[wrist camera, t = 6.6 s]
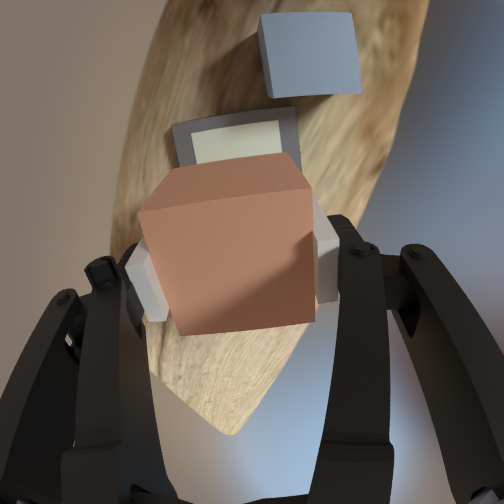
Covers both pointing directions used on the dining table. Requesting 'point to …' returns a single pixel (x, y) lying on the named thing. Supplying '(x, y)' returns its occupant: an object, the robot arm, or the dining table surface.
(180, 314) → the terracotta block
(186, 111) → the dining table surface
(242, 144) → the blueprint board
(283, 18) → the blue block
